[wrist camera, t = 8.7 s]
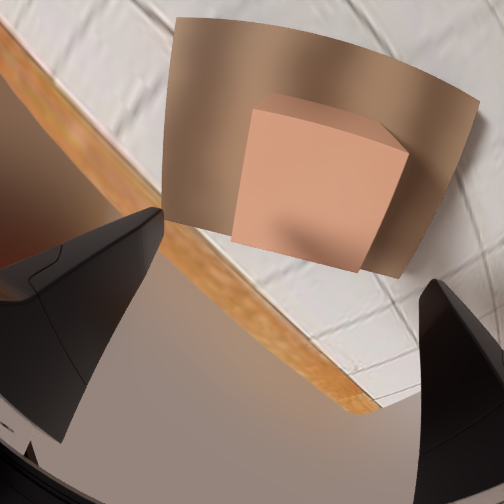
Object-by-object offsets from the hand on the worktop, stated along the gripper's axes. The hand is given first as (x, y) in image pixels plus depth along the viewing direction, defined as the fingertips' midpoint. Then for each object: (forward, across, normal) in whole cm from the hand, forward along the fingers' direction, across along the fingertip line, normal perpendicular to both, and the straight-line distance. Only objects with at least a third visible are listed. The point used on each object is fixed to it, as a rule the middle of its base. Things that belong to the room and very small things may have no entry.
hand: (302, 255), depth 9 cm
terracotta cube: (+10, 0, 0) cm, 10 cm away
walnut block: (+12, 0, 0) cm, 13 cm away
